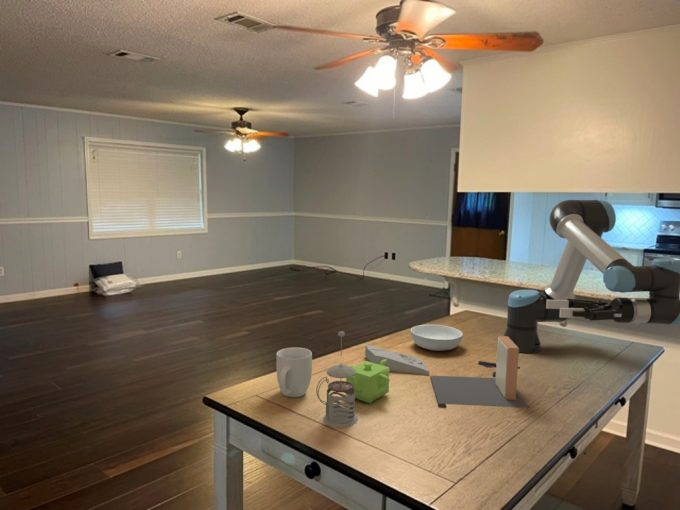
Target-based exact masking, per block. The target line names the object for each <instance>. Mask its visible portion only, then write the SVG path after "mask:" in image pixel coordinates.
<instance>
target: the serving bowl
mask: <svg viewBox="0 0 680 510" xmlns="http://www.w3.org/2000/svg"><path fill="white" fill-rule="evenodd" d="M410 335H411V336H410V337H411V339H412V341H413V342H414V344H416V345H417V346H419V347H421V348H423V349H426V350H428V351H429V350H430V351H434V352H435V351H436V352H441V351H442V352H443V351H449V350H453V349H455V348H457V347H458V346H459V345H460V344H461V342H462V340H463V337H464V332H462V331H461V330H460V329H458V328H455V327H452V326H448V325H442V324H421V325H415V326H413V327H411V329H410Z"/></svg>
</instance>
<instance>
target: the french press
mask: <svg viewBox="0 0 680 510" xmlns="http://www.w3.org/2000/svg"><path fill="white" fill-rule="evenodd" d="M337 336H338V337H340V355H342V352H343V351H342V348H343V347H342V346H343V344H342V341H343V337H345V336H346V333H345V331H341V330H340V331H339V332H338V333H337ZM325 371H326V375H327V376H329V377H330V378H335V379H340V380H336V381H335V380H334V381H331V382H330V381H329V378H328V377H327V376H324V377H323V378H321V379H320V380H318V383H317V385H316V396H317V399H318V400H319V402H321V403H322V404H323V405H325V415H324V416H323V418H322V422H323V423H324V424H325V425H327V426H330V427H332V428H336V429H337V428H338V429H340V428H341V429H343V428H344V429H345V428H349V427H353V426H355V425H356V424H357V423H358V422H357V421H359V419H358V416H357V415H356V414H355V405H356V402H355V400H356V399H355V390H354V389H353V388H354V385H353V384H352V383H350V382H347V381H346V380H342V379H346V378H348V377H352V376H354V375H355V373H356V371H355V370H354V369H353V368H352V367H349V365H346V364H337V365H333V366H331V367H329V368H328V369H326V370H325ZM324 382H326V383H327V387H328V388H327V389H326V401H325V400H322V399H321V398H320V396H319V395H320V394H319V393H320V388H321V387H322V385H323V383H324ZM346 394H350V396H348V395H346ZM337 395H338V396H337ZM343 406H344V407H343ZM354 424H355V425H354Z"/></svg>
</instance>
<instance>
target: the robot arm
mask: <svg viewBox="0 0 680 510" xmlns="http://www.w3.org/2000/svg"><path fill="white" fill-rule="evenodd" d="M616 215H617V214H616V212H615V209H614V207H613V205H612V204H611V203H610V202H608V201H607V200H599V199H567V200H563V201H560V202H559V203H557V204H556V205H555V206H554V207H553V208H552V210H551V211H550V214H549V225H550V227H551V229H552V231H553V232H554V233H555V234H556V235H557V236H558V237H560V238H561V239H566V240H567V241H566V245H565V247H564V250H563V252H562V254H561V257H560V259H559V262H558V265H557V266H556V270H555V272H554V275H553V277H552V280H551V282H550V284H547V285H545V287H544V290H543V292H542V293H540V292H539V291H538V290H535V289H518V290H514V291H512V292H511V293H510V294H509V295H508V301H507V315H506V316H507V317H506V318H507V319H506V328H505V330H504V333H503V335H502V336H508V337H509V338H510V339H511V340H512V341H513V342H514V344H515V345H516V346H517V347H518V348H519V353H522V354H523V353H524V354H525V353H526V354H529V353H531V354H532V353H533V354H534V353H537V352H540V351H541V350H542V349H541V347H542V343H541V340H540V337H539V333H538V324H539V323H552V322H553V323H562V322H566V321H570V320H572V319H586V320H589V321H591V322H592V321H607V320H608V321H609V320H610V321H611V320H613V322H615V323H622V324H627V323H631V324H635V325H637V326H640V324H657V325H680V260H678V259H674V258H673V259H672V258H659V257H658V258H654V259H652V261H651V264H650V265H633V264H632V263H631V262H630V261H628V259H626V258H625V257H624V256H622V255H621V253H619V252H618V251H617V250H616V249H614V247H612V246H611V245H610V244H609V243H607V242H606V241H605V240H604V239H603V238H602V236H603V234H604V233H608V232H611V231H612V230H613V229H614V227H615V225H616V221H617V219H616V218H617V216H616ZM587 260H588V261H589V262H590V263H591V264H592V265H593V266H594V267H595V268H596V269H598V270H599V272H600V273H601V274H603V276H602V280H603V283H604V286H605V288H606V289H607V290H608V291H610V292H614V293H622V294H623V293H639V292H646V293H647V292H648V294H649V295H648V296H649V297H647V298H645V297H614V298H613V299H612V300H611V302H610V303H608V302H607V301H602V300H590V299H587V300H586V299H578V298H576V295H575V293H574V292H575V291H574V290H575V288H576V285H577V283H578V281H579V278H580V277H581V274H582V273H583V269H584V267H585V264H586V262H587Z"/></svg>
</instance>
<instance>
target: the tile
mask: <svg viewBox="0 0 680 510" xmlns="http://www.w3.org/2000/svg"><path fill="white" fill-rule="evenodd" d="M519 353H520V352H519V348H518V347H517V346H516V345H515V344H514V342H513V341H512V340H511V339H510V338H509V337H508V336H503V335H502V336H501V335H498V337H497V346H496V362H495V363H496V367H495V372H496V377H495V378H496V379H495V383H496V385H497V387H498V388H499V390H500V391H501V393H502V395H503V396H504V398H505V399H509V400H516V389H517V385H518V372H519V371H518V367H519Z"/></svg>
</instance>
